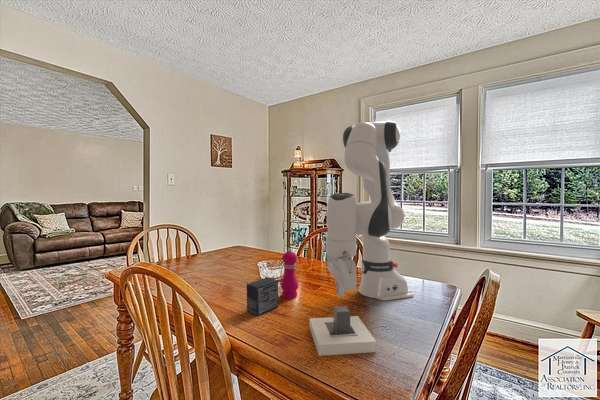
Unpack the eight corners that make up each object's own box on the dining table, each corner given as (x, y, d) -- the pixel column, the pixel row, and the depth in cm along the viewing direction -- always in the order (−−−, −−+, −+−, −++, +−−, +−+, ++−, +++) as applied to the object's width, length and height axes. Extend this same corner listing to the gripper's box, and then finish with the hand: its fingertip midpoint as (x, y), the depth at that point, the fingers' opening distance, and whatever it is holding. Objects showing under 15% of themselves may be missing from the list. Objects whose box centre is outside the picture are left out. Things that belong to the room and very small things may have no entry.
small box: (266, 302, 115) (266, 276, 115) (279, 307, 111) (279, 279, 111) (245, 311, 107) (245, 283, 107) (258, 316, 103) (258, 287, 103)
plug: (346, 335, 91) (346, 306, 90) (349, 341, 87) (350, 311, 86) (333, 335, 90) (333, 306, 90) (336, 342, 86) (336, 312, 86)
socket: (357, 324, 97) (357, 315, 97) (376, 352, 81) (376, 340, 81) (309, 327, 95) (309, 317, 95) (318, 355, 79) (318, 343, 79)
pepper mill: (296, 300, 118) (296, 250, 117) (278, 298, 120) (278, 249, 119) (299, 293, 125) (300, 246, 124) (283, 292, 127) (283, 246, 126)
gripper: (363, 256, 77) (362, 308, 78) (342, 241, 97) (341, 283, 98) (339, 256, 76) (338, 309, 77) (323, 242, 97) (323, 284, 97)
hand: (340, 294), depth 88 cm, fingers closed
